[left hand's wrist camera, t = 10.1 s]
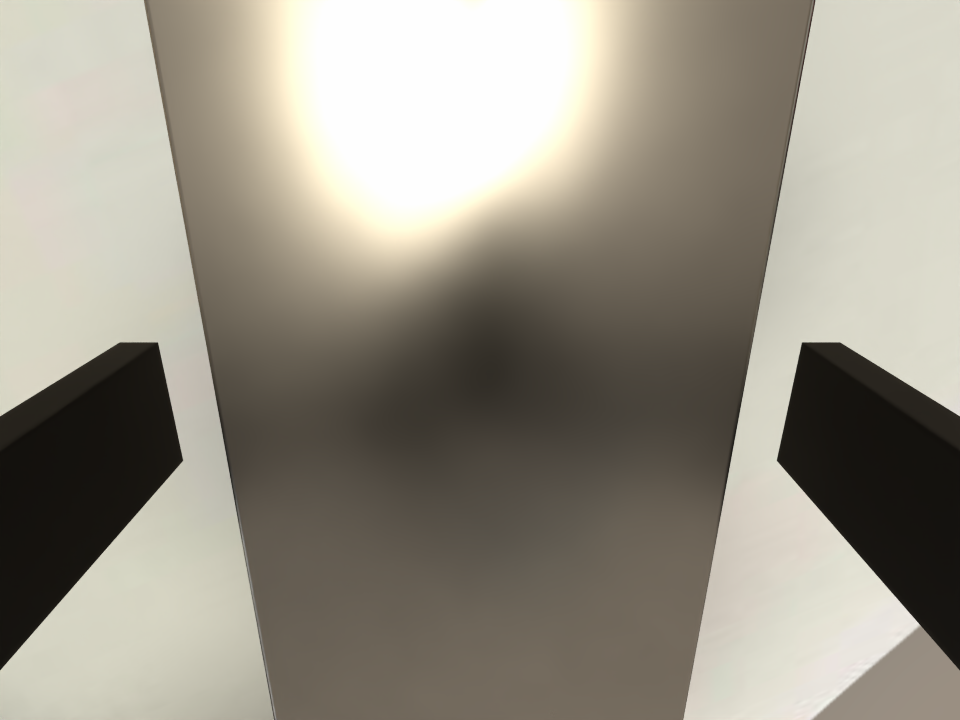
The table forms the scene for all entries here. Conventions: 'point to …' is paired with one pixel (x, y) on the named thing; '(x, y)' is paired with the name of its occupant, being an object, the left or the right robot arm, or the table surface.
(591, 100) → the bar
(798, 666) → the table surface
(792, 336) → the table surface
